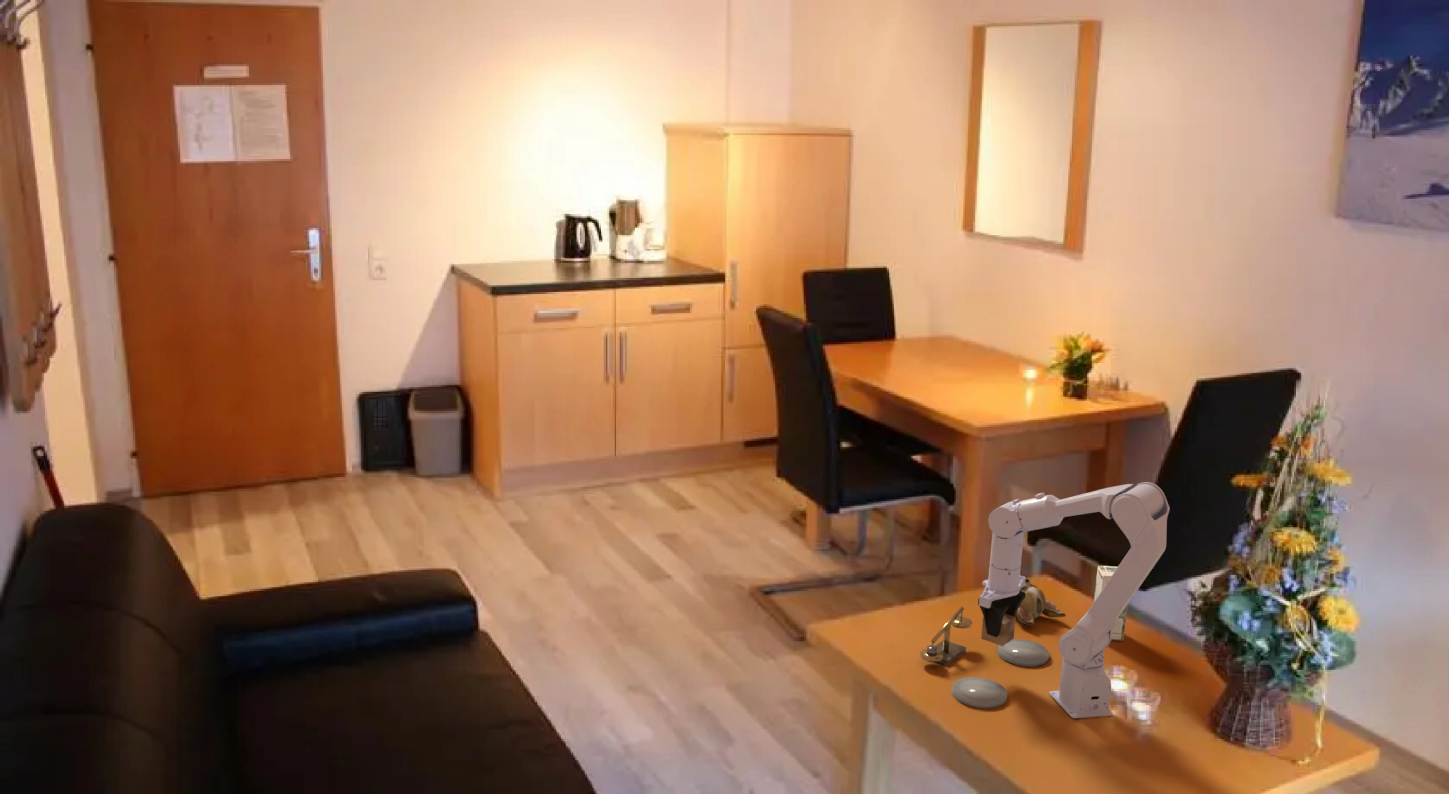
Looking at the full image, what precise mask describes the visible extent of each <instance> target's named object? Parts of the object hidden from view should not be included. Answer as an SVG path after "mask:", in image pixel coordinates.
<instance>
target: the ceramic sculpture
mask: <svg viewBox="0 0 1449 794" xmlns="http://www.w3.org/2000/svg"><path fill="white" fill-rule="evenodd" d="M1020 591H1022V592H1024V593H1025V594H1026V596H1025V598H1024V600H1023V601H1022V603H1021V604H1020V606H1019V608H1018V610H1017V612H1016V615H1015V617H1016V619H1017V620H1018V621H1019V622H1020V623H1022V624H1025V625H1027V626H1034V625H1035V622H1036V621H1035V620H1036V618H1038V617H1039V616H1041V615H1044V616H1045V617H1049V618H1065V617H1066V616H1067V614H1065V612H1064V613H1063V612H1061V611H1060V609H1059V608H1057V605H1056V604H1054V603H1053V602H1052V601H1051V600H1050V599H1046V597H1045V594H1044V591H1043V590H1042V589H1041V588H1039V587H1038V586H1037V585H1034V584H1032V583H1031V581H1030V579H1028V578H1025V586H1024V587H1021V589H1020Z"/></svg>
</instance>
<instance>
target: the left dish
mask: <svg viewBox="0 0 1449 794" xmlns="http://www.w3.org/2000/svg"><path fill="white" fill-rule="evenodd" d="M951 694H952V696H953V697H954V698H955V699H956V700H957V701H959V702H960V703H961V704H964V705H966V706H969V707H973V708H978V709H993V708H998V707H1001V706H1003V705H1004V704H1006V702H1007V700H1008V691H1007V690H1006V688H1005V687H1004V686H1003V685H1002V684H1001V683H999V682H997V681H995V680H992V679H988V678H986V677H985V678H984V677H973V676H971V677H970V676H968V677H963V678H960V679H957V680H955V681H954V682H953V684H952V686H951Z"/></svg>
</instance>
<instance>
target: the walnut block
mask: <svg viewBox="0 0 1449 794" xmlns="http://www.w3.org/2000/svg"><path fill="white" fill-rule="evenodd" d="M1016 619H1017V616H1015V617H1014V616H1011V615H1008V614H1005V615H1004V617H1003V620H1002V624H1001V629H1000V633H999V635H998V637H994V636H991V635H988V634H987V631H986V625H985V620H984V616H983V617H982V626H981V627H982V628H981V636H980V637H981V638H980V639H981V640H984V641H986V642H989V643H993V644H995V645H997V646H998V645H1001V646H1003V645H1005V644H1006V643H1008V642H1009V641H1011V640H1012V639H1015V628H1016V627H1015V626H1016Z"/></svg>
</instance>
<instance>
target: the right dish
mask: <svg viewBox="0 0 1449 794" xmlns="http://www.w3.org/2000/svg"><path fill="white" fill-rule="evenodd" d="M996 650H997V655H998V657H1000V658H1001V659H1002V660H1003V661H1006V662H1007V663H1010V664H1013V665H1016V666H1021V667H1039V666H1043V665H1045V664H1047V662H1048V661H1049V657H1050V652H1049V650H1048V649H1047V648H1046V646H1044V645H1042V644H1040V643H1038V642H1035V641H1033V640H1030V639H1029V640H1028V639H1022V638H1021V639H1020V638H1014V639H1012V640H1011V641H1009V642H1008V643H1006V644H1005V645H1003V646H1001V645H998V644H997V649H996Z"/></svg>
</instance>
